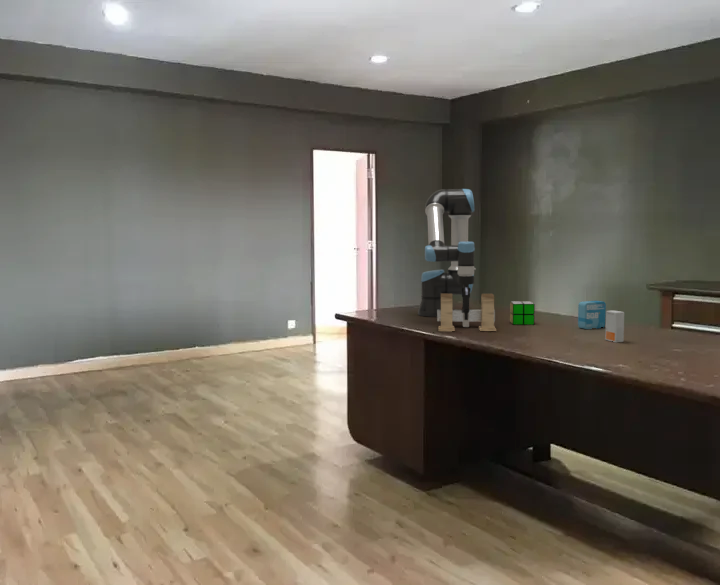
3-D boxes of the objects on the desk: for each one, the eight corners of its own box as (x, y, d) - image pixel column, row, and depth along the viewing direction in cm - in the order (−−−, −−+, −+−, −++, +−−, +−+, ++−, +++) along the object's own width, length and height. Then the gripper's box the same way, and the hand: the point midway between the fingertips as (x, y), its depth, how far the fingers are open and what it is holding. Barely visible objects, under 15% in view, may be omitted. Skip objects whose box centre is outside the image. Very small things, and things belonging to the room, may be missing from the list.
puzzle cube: (531, 322, 323) (531, 301, 322) (534, 325, 313) (534, 303, 312) (509, 321, 324) (510, 301, 323) (512, 325, 314) (512, 303, 313)
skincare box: (604, 340, 271) (605, 310, 270) (613, 339, 272) (614, 310, 271) (615, 342, 265) (616, 312, 264) (624, 341, 267) (624, 311, 265)
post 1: (438, 328, 305) (438, 293, 303) (454, 328, 304) (454, 293, 302) (438, 331, 297) (438, 295, 295) (454, 331, 296) (454, 295, 294)
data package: (584, 329, 298) (585, 302, 297) (577, 328, 302) (578, 301, 301) (605, 327, 303) (606, 301, 302) (598, 326, 307) (598, 300, 306)
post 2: (478, 328, 303) (479, 293, 301) (494, 328, 302) (494, 293, 300) (480, 331, 295) (480, 295, 293) (496, 331, 294) (496, 295, 292)
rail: (437, 320, 312) (437, 309, 312) (494, 320, 309) (494, 309, 309) (437, 321, 308) (437, 310, 308) (494, 321, 306) (494, 310, 305)
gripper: (475, 276, 298) (475, 328, 300) (473, 274, 315) (472, 323, 317) (458, 276, 299) (458, 328, 301) (456, 274, 316) (456, 323, 318)
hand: (465, 326), depth 309 cm, fingers closed on rail, 4 cm apart
